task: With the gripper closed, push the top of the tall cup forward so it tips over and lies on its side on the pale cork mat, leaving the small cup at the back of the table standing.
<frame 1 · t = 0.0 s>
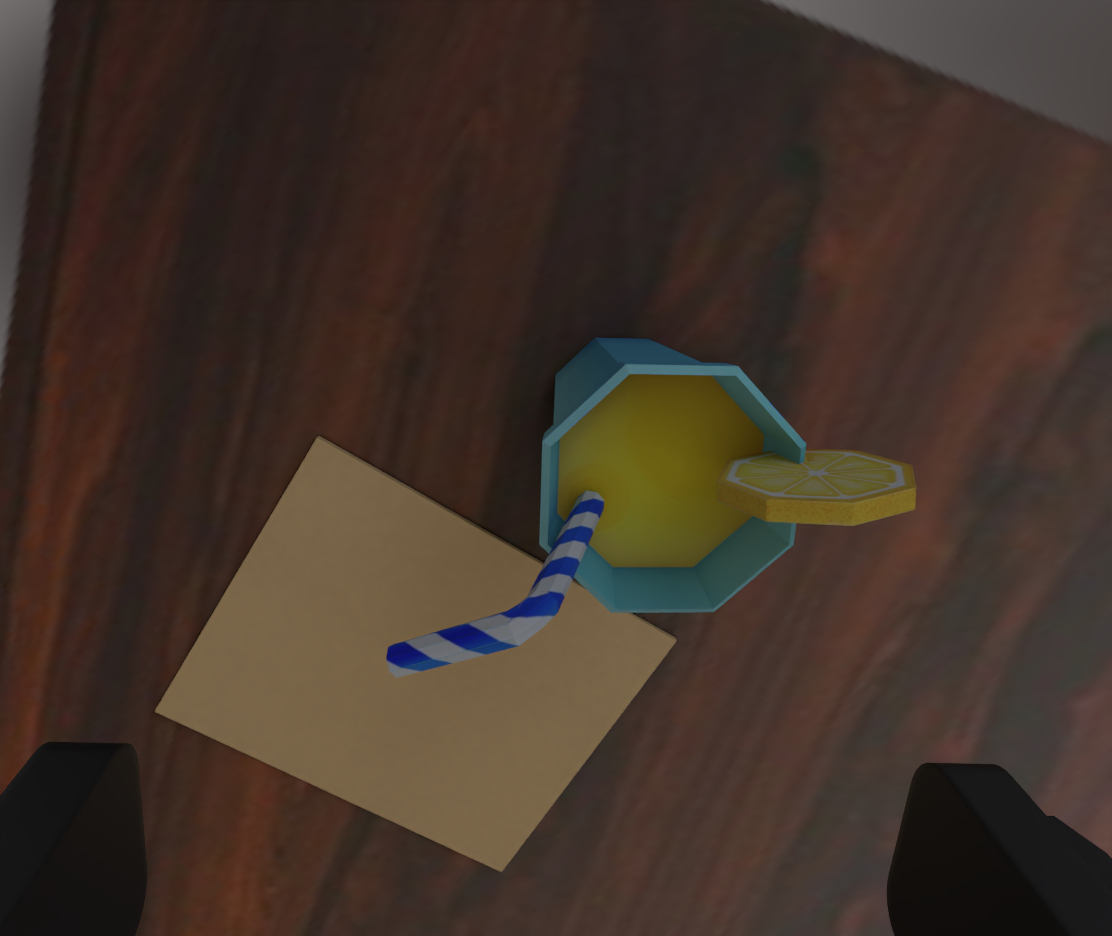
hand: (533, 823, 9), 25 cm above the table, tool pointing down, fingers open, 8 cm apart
cork mat: (418, 672, 37), on the table
cup: (595, 408, 34), on the table
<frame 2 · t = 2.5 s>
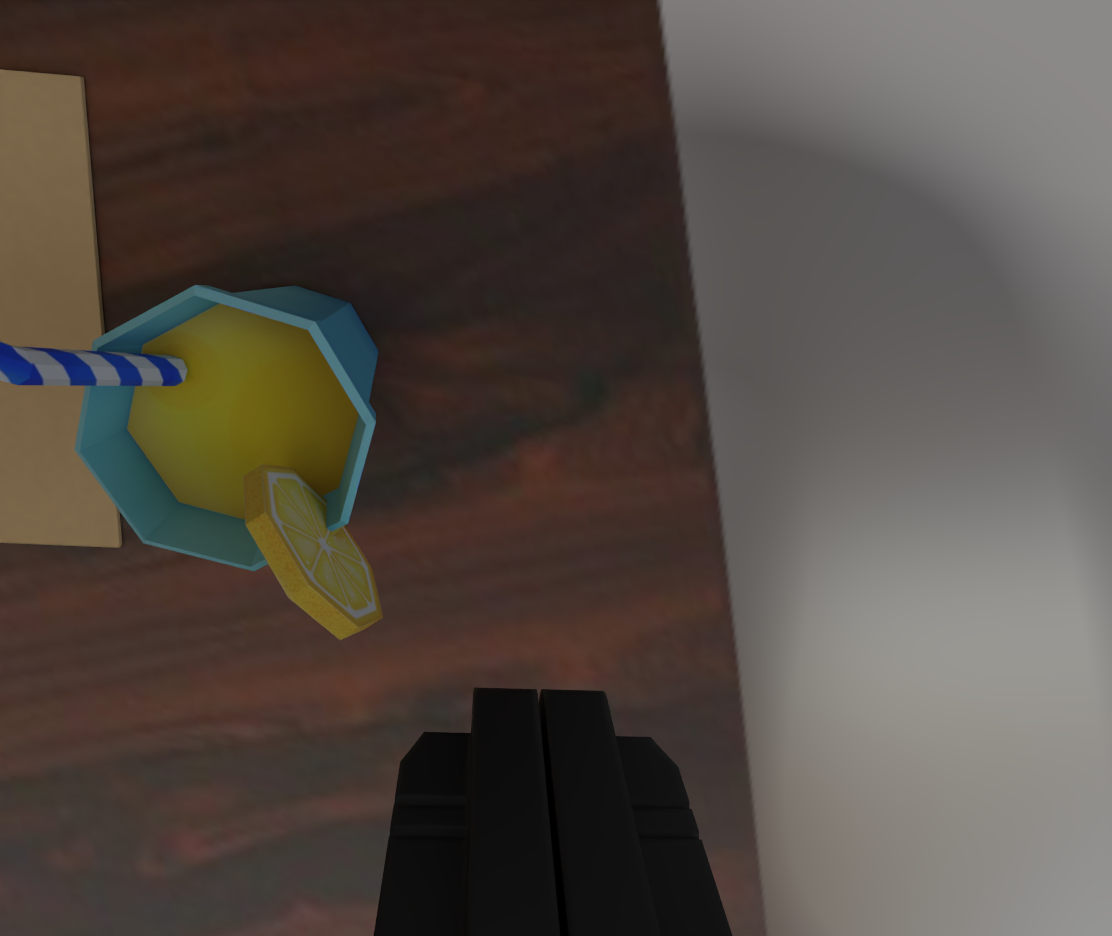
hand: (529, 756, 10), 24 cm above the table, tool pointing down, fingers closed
cup: (288, 341, 32), on the table
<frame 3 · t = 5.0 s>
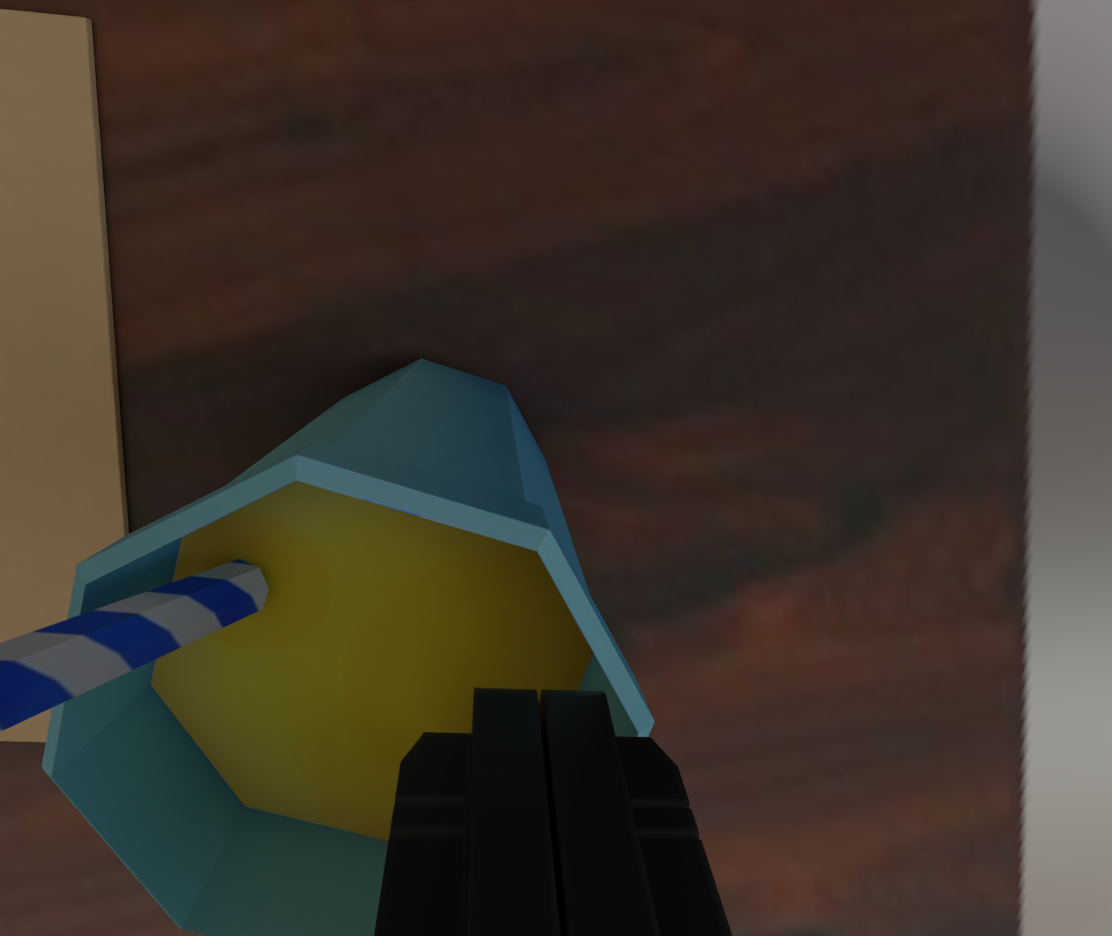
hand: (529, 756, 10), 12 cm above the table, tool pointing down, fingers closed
cup: (405, 441, 21), on the table, touching gripper
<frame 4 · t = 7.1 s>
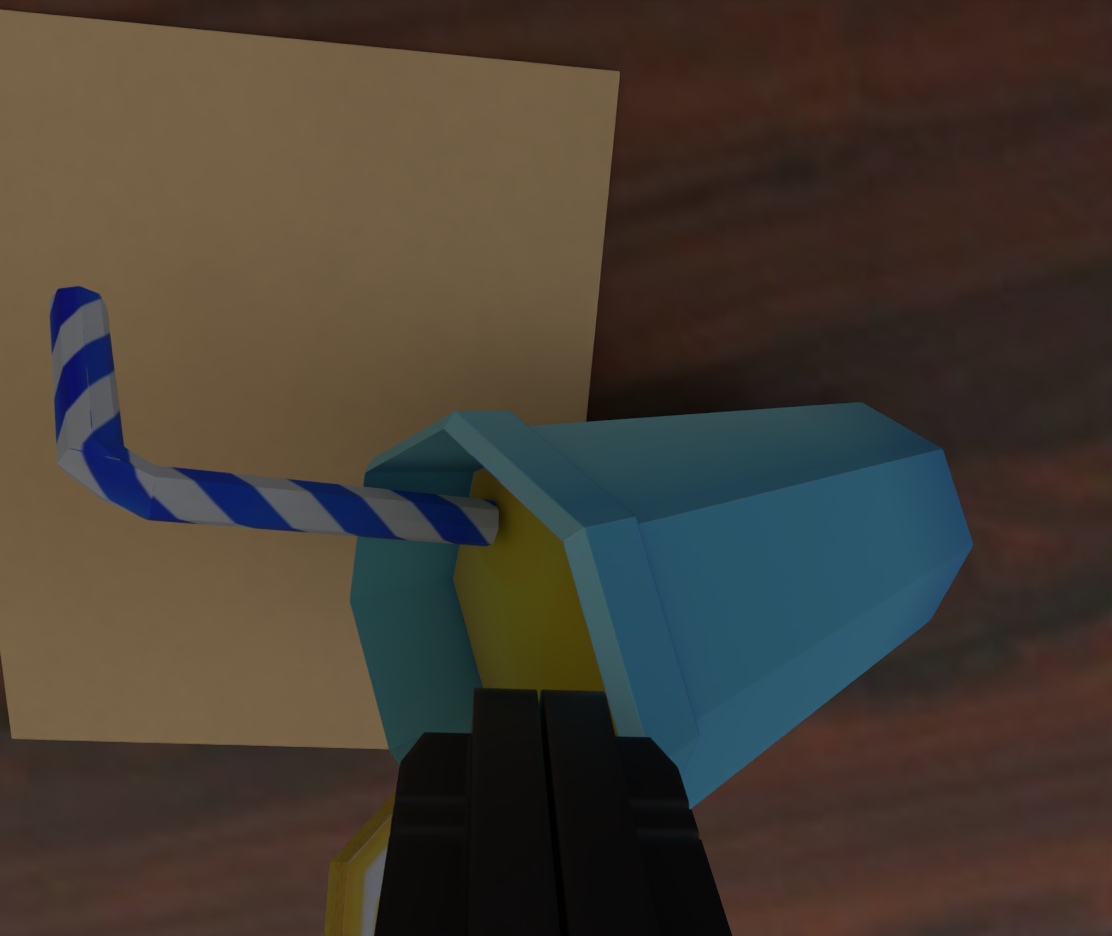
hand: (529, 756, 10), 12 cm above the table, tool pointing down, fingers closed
cork mat: (288, 434, 21), on the table
cup: (837, 484, 20), point 2 cm above the table, touching gripper
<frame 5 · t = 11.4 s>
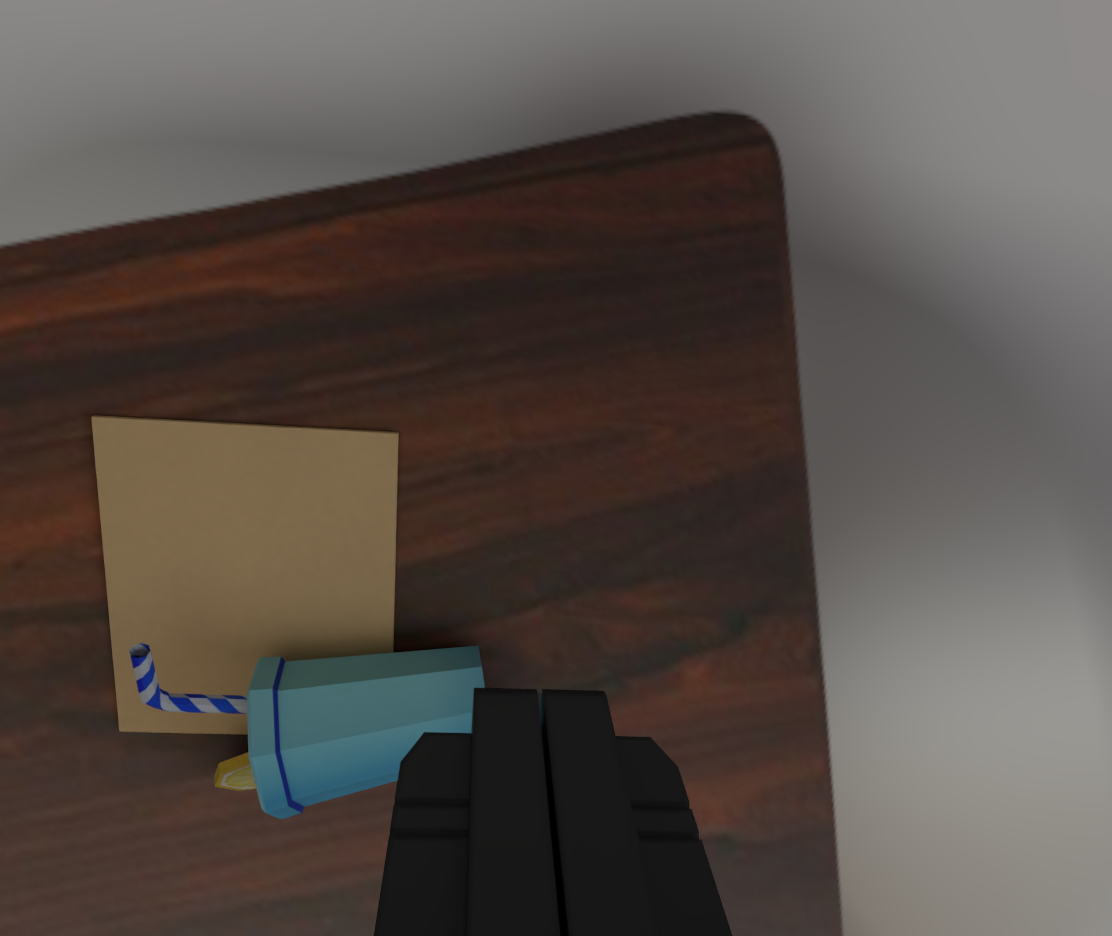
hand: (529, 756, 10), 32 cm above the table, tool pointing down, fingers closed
cork mat: (253, 586, 44), on the table
cup: (488, 687, 43), point 3 cm above the table, touching cork mat
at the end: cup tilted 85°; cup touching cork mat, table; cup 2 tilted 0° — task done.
